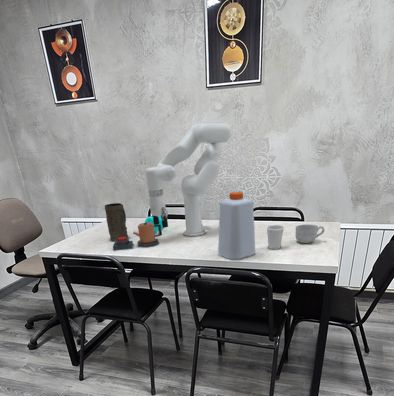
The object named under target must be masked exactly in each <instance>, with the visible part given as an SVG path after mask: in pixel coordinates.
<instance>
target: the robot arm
mask: <svg viewBox="0 0 394 396" xmlns="http://www.w3.org/2000/svg"><path fill="white" fill-rule="evenodd" d="M231 136H232V129H231V127H230V125H228V124H227V123H195V124H193V125H192V126H191V127H190V128H189V129H188V131H186V133H185V134H184V135H183V137H182V138H181V139H180V141H179V142H178V144H177V145H175V146H174V147H173V148H172V149H171V150H169V151H168V152H167V153H166V154H165V155H164V156H163V157H162V158H161V160H160V161H159V162H158V163H157V165H155V166H152V167H147V168H146V169H145V177H146V184H147V191H148V197H149V199H148V200H149V209H150V215H152V217H153V221H154V225H157V224H159V218H158V217H160V216H161V218H162V226H163V228H164V229H165V228H168V227H169V222H168V217H169V216H168V215H169V212H168V210H167V207H166V202H165V198H164V189H163V183H162V182H171V181H173V180H174V179H176V177H177V170H176V168H175V166H176V165H178V164H179V163H181V162H184V161H186V160H188V159H189V158H190V157H191V156H192V155H193V154H194V152H195V151H196V149H197V148H198V147H199V146H200V145H201V144H202V143H203V144H204V143H205V144H206V148H205V149H204V151H203V153H202V154H201V156H200V157H199V158H198V160H197V161H196V163H195V164H194V167H193V172H194V174H195V175H193V174H188V175H186V176H184V177H183V178H182V180H181V183H180V187H181V193H182V196H183V197H182V198H183V208H184V218H185V230H184V231H183V235H184V236H187V237H198V236H202V235H205V234H206V231H209V230H211V226H210V225H203V219H202V201H201V196H204V195H205V194H206V193H207V192H208V190H209V189H210V188H211V186H212V184H214V182H215V180H216V179H217V177H218V175H219V172H220V166H219V163H218V161H219V158H220V156H221V152H222V147H221V145H222V144H221V143H227V142H228V141H229V140H230V139H231Z"/></svg>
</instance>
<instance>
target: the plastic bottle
mask: <svg viewBox="0 0 394 396" xmlns="http://www.w3.org/2000/svg"><path fill="white" fill-rule="evenodd" d="M254 215H255V213H254V201H253V199H251V198H247V197H244V193H243V192H241V191H232V192H230V193H229V197H228V198H225V199H222V200H220V202H219V215H218V216H219V218H218V244H217V245H218V246H217V249H218V250H217V252H218V255H220V256H221V257H224V258H227V259H229V260H233V261H235V260H236V261H237V260H241V259H245V258H248V257H252V256H253V255H255V254H256V235H255V234H256V233H255V216H254Z"/></svg>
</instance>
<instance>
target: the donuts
mask: <svg viewBox="0 0 394 396" xmlns="http://www.w3.org/2000/svg"><path fill="white" fill-rule="evenodd" d="M158 218H159V224H160V225H161V231H162V230H164V229H165V228H163V226H162V218H161V216H160V217H158ZM144 223H152V224H153V225H154V221H153V217H152V216H147V217H146V218H145V219H144ZM157 225H158V224H157ZM158 232H159V230H158V227H154V233H155V234H156V233H158Z"/></svg>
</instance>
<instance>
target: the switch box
mask: <svg viewBox="0 0 394 396" xmlns="http://www.w3.org/2000/svg"><path fill="white" fill-rule="evenodd" d="M133 247H134V240H130V239H129V238H128V239H126V241H122V242H120V241H119V240H116V241H114V243H113V245H112V250H113V251H123V250H133Z"/></svg>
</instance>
